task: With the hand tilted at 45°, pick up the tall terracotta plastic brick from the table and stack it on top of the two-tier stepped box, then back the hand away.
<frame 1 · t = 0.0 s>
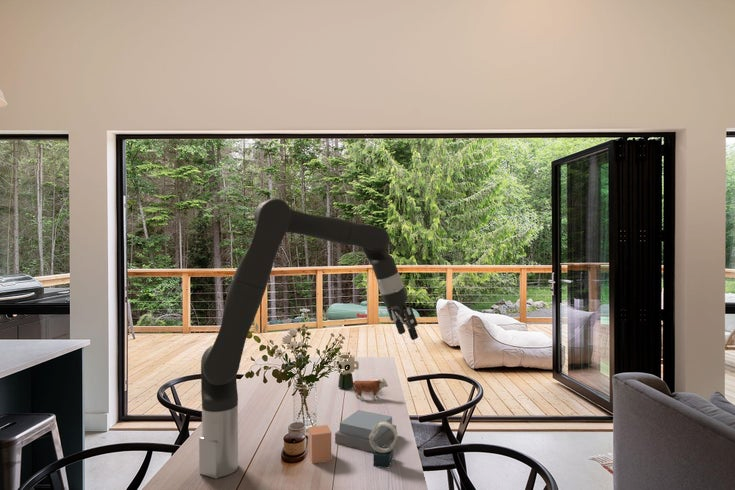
hand: (408, 335, 149), 31 cm above the table, tool tilted 20°, fingers open, 8 cm apart
terracotta brick: (319, 457, 134), on the table
bull figurine: (370, 399, 182), on the table
character mug: (345, 388, 195), on the table
grey ring on block: (382, 462, 132), on the table
two-tier stepped box: (366, 438, 147), on the table
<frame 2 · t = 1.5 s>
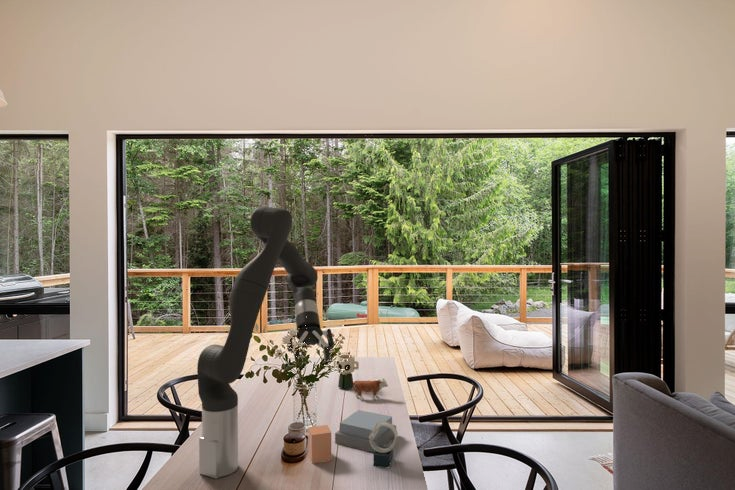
hand: (312, 361, 145), 25 cm above the table, tool tilted 45°, fingers open, 8 cm apart
nothing on the table moved.
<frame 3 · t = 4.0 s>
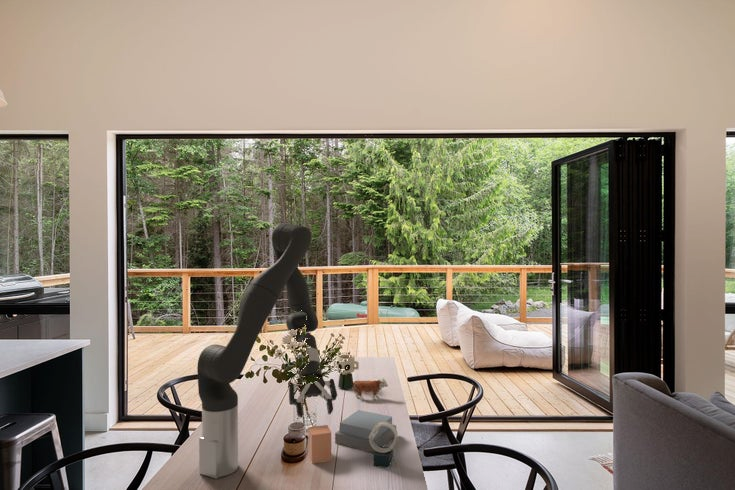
hand: (315, 414, 139), 10 cm above the table, tool tilted 45°, fingers open, 8 cm apart
nothing on the table moved.
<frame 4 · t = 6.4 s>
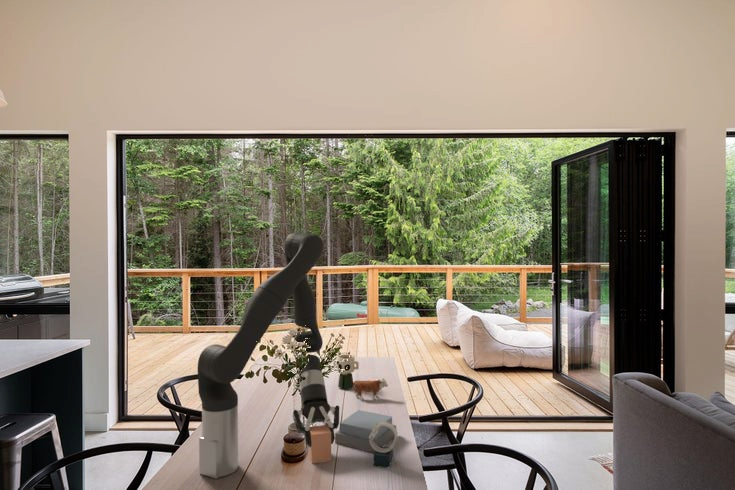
hand: (320, 444, 133), 5 cm above the table, tool tilted 45°, fingers closed on terracotta brick, 5 cm apart
terracotta brick: (319, 457, 134), on the table, touching gripper
everything else where it was.
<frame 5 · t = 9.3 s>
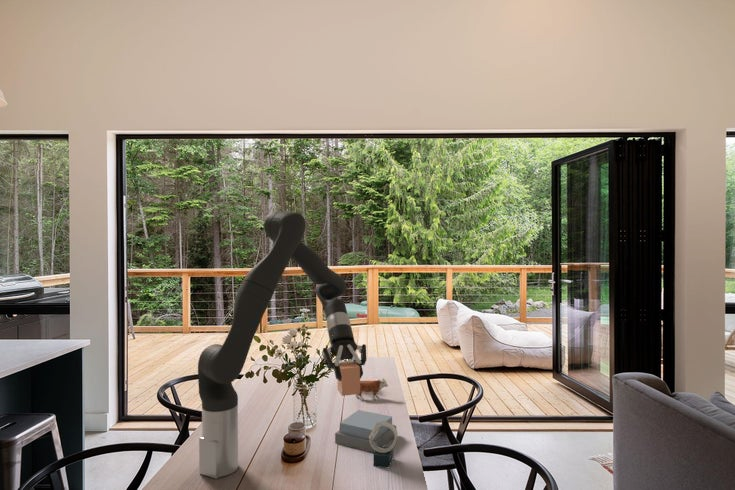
hand: (350, 378, 140), 21 cm above the table, tool tilted 45°, fingers closed on terracotta brick, 5 cm apart
terracotta brick: (348, 391, 141), point 16 cm above the table, touching gripper
everything else where it was.
when the fingers open (12 cm above the table, at t = 12.3 s): terracotta brick drops 1 cm, resting on two-tier stepped box.
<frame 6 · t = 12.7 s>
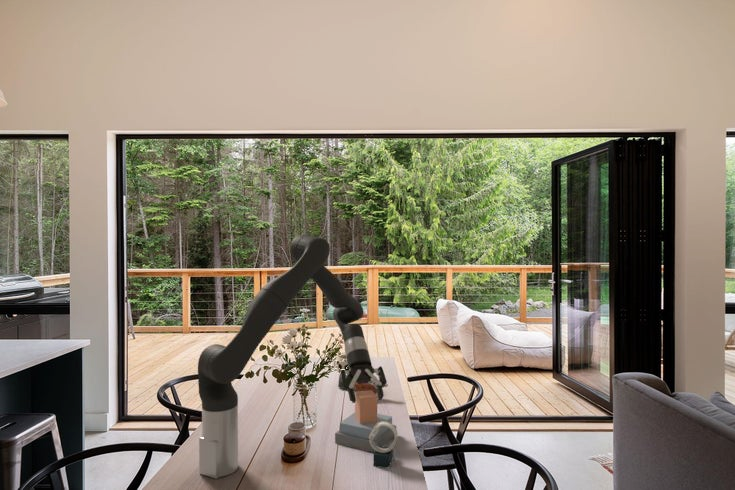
hand: (367, 400, 145), 12 cm above the table, tool tilted 45°, fingers open, 8 cm apart
terracotta brick: (365, 419, 146), point 6 cm above the table, touching two-tier stepped box
everything else where it was.
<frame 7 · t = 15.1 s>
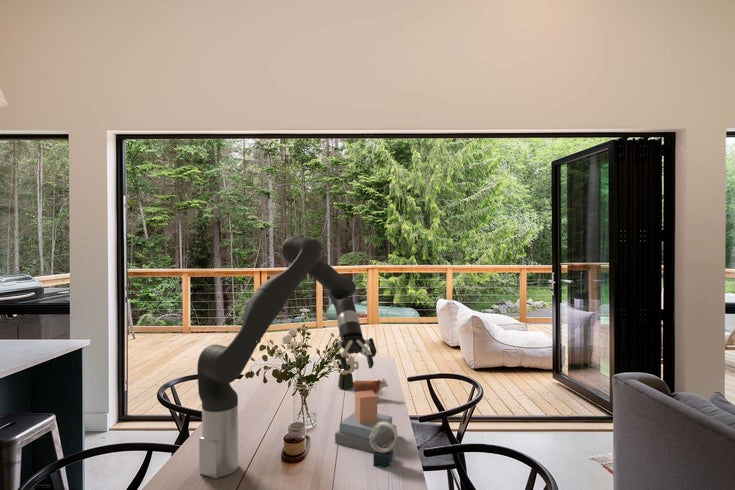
hand: (358, 368, 154), 20 cm above the table, tool tilted 45°, fingers open, 8 cm apart
nothing on the table moved.
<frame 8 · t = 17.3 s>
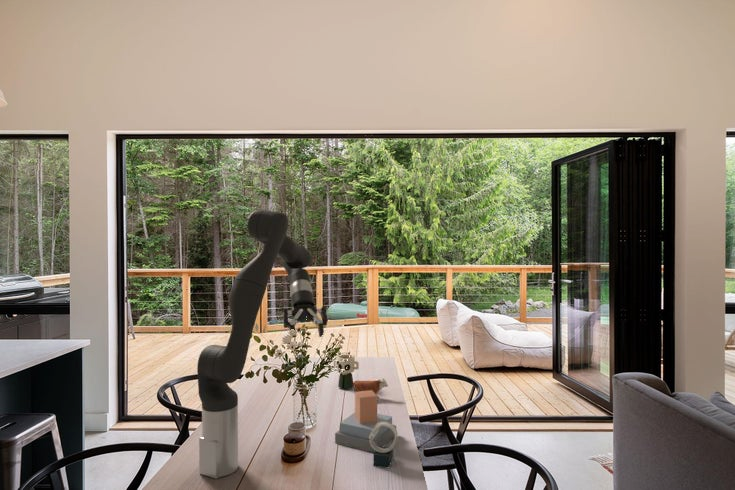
hand: (307, 336, 151), 31 cm above the table, tool tilted 45°, fingers open, 8 cm apart
nothing on the table moved.
at the end: terracotta brick inside the target area on the two-tier stepped box (0.1 cm from its centre), point 6.0 cm above the two-tier stepped box's base; terracotta brick tilted 0°; the gripper is holding nothing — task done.
